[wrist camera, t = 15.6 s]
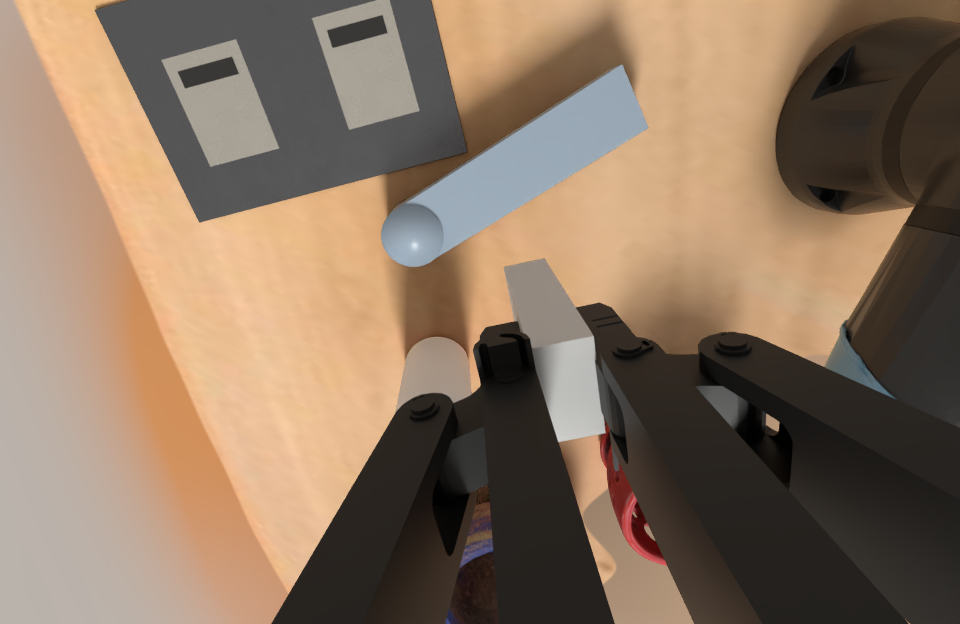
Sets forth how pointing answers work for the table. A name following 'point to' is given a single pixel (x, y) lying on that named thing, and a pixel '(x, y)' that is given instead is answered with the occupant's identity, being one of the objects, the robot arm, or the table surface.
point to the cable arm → (515, 169)
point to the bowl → (476, 575)
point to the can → (435, 370)
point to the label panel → (286, 92)
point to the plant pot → (627, 506)
